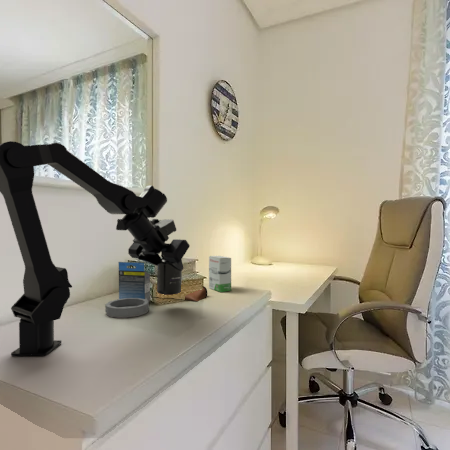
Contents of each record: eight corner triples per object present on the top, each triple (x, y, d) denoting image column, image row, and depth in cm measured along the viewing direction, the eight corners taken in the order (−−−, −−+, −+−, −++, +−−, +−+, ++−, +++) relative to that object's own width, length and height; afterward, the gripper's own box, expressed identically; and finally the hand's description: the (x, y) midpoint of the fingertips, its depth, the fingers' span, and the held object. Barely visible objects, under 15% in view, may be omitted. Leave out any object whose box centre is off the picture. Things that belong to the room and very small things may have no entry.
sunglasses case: (146, 297, 106) (151, 277, 109) (155, 303, 112) (160, 285, 115) (198, 301, 101) (202, 280, 104) (205, 308, 107) (209, 288, 110)
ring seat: (142, 317, 85) (142, 308, 85) (99, 317, 85) (99, 308, 84) (152, 306, 96) (152, 297, 96) (113, 306, 96) (113, 298, 96)
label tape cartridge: (150, 300, 102) (150, 261, 102) (144, 304, 98) (144, 262, 98) (125, 299, 104) (124, 260, 104) (118, 302, 100) (117, 261, 100)
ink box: (232, 291, 116) (232, 257, 116) (219, 292, 113) (219, 258, 113) (219, 286, 123) (220, 254, 123) (208, 288, 121) (208, 255, 121)
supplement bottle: (177, 295, 89) (177, 251, 89) (153, 294, 90) (153, 250, 90) (184, 290, 96) (184, 249, 96) (162, 289, 97) (162, 248, 97)
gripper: (185, 208, 84) (211, 248, 93) (136, 209, 95) (164, 245, 104) (162, 240, 78) (192, 280, 87) (113, 237, 89) (145, 273, 98)
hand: (173, 268), depth 94 cm, fingers closed on supplement bottle, 7 cm apart
